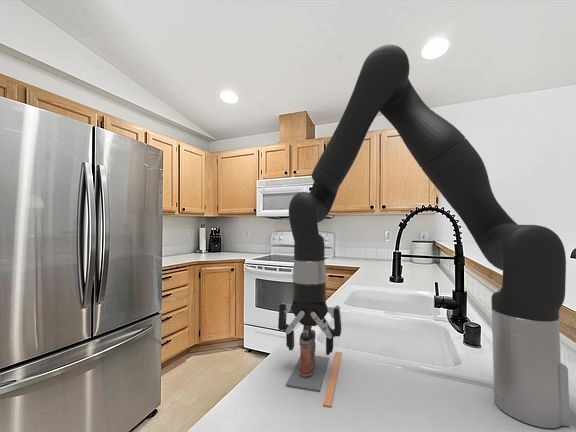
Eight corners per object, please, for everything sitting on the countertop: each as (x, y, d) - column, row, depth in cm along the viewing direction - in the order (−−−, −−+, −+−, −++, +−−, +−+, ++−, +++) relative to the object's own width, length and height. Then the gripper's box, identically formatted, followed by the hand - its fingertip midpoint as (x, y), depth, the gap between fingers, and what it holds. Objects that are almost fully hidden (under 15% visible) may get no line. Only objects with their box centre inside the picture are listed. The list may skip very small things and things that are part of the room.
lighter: (312, 380, 57) (312, 332, 58) (296, 377, 58) (296, 330, 59) (317, 361, 65) (317, 319, 66) (303, 359, 66) (303, 318, 66)
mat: (328, 359, 67) (328, 357, 67) (319, 392, 54) (319, 390, 54) (301, 355, 69) (301, 353, 69) (286, 386, 56) (286, 384, 56)
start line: (341, 353, 70) (341, 352, 70) (331, 407, 49) (331, 405, 49) (335, 352, 71) (335, 351, 71) (323, 406, 50) (323, 404, 50)
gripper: (342, 278, 64) (342, 348, 63) (284, 275, 68) (284, 341, 67) (339, 284, 57) (339, 363, 56) (274, 280, 61) (274, 354, 60)
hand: (309, 351), depth 62 cm, fingers open, 8 cm apart
